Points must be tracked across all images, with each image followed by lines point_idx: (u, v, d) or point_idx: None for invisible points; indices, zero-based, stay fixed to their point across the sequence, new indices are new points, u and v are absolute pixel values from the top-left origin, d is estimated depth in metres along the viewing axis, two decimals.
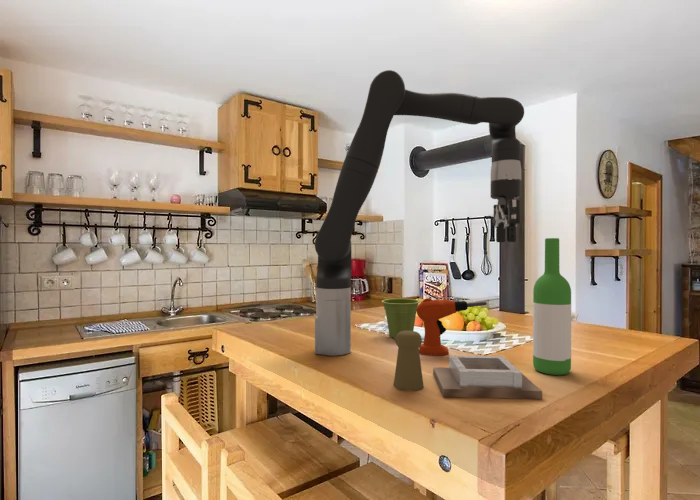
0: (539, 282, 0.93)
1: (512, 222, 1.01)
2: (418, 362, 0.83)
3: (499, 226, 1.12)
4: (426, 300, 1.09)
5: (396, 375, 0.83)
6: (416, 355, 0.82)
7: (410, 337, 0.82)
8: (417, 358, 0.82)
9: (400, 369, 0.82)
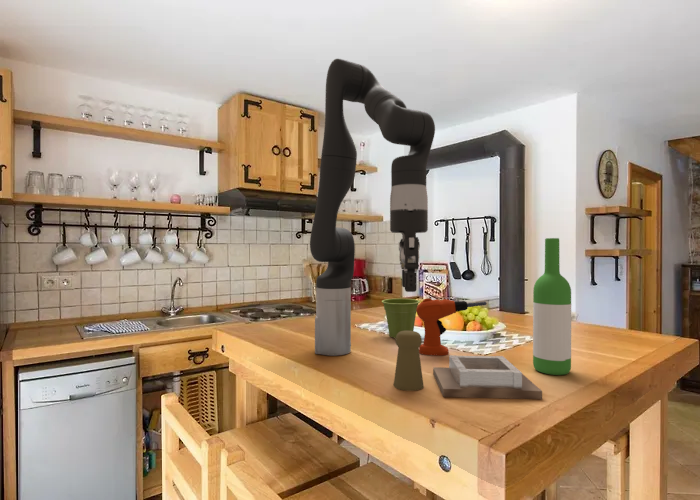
0: (539, 282, 0.93)
1: (409, 267, 0.77)
2: (418, 362, 0.83)
3: None
4: (426, 300, 1.09)
5: (396, 375, 0.83)
6: (416, 355, 0.82)
7: (410, 336, 0.82)
8: (417, 358, 0.82)
9: (400, 369, 0.82)
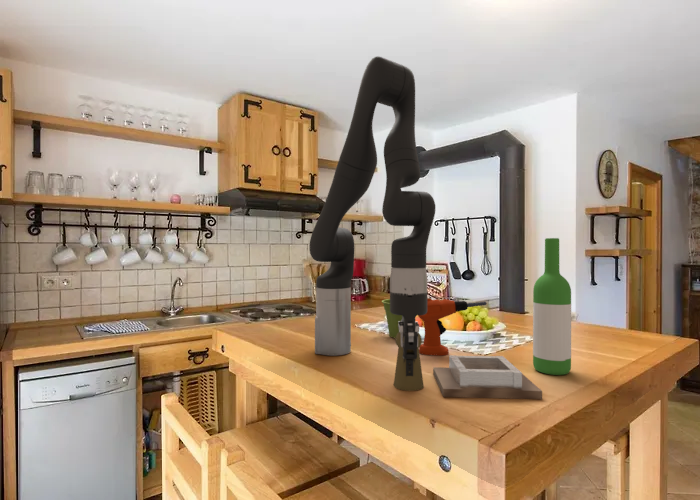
0: (539, 282, 0.93)
1: (407, 358, 0.80)
2: (418, 362, 0.83)
3: None
4: None
5: (396, 375, 0.83)
6: None
7: None
8: (417, 358, 0.82)
9: (400, 369, 0.82)
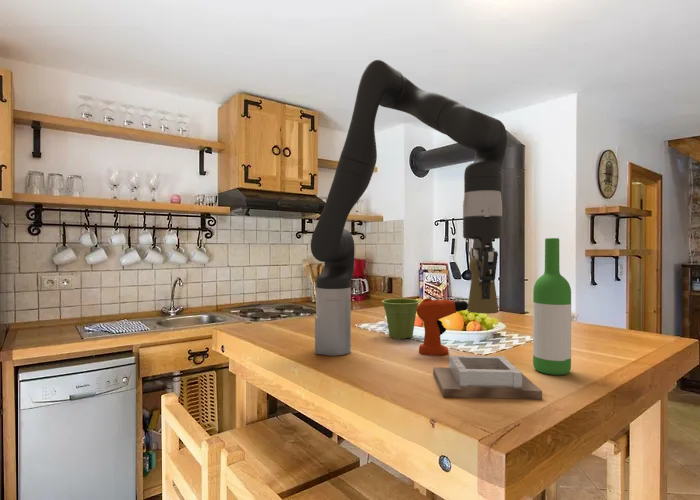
0: (539, 282, 0.93)
1: (485, 279, 0.80)
2: (494, 286, 0.82)
3: None
4: (426, 300, 1.09)
5: (471, 300, 0.83)
6: None
7: None
8: (493, 282, 0.82)
9: (475, 293, 0.82)
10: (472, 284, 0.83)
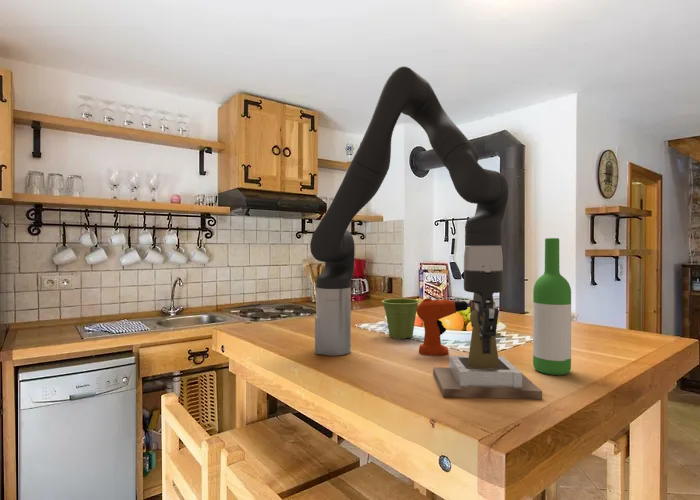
0: (539, 282, 0.93)
1: (486, 335, 0.80)
2: (494, 340, 0.82)
3: None
4: (426, 300, 1.09)
5: (471, 353, 0.83)
6: None
7: None
8: (493, 336, 0.82)
9: (476, 347, 0.82)
10: (473, 337, 0.83)
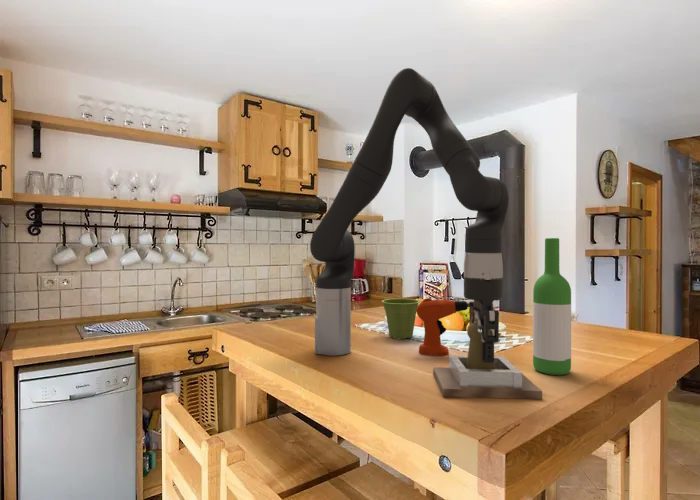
0: (539, 282, 0.93)
1: (489, 341, 0.78)
2: None
3: None
4: (426, 300, 1.09)
5: (469, 366, 0.84)
6: None
7: None
8: None
9: (473, 360, 0.83)
10: (470, 350, 0.84)
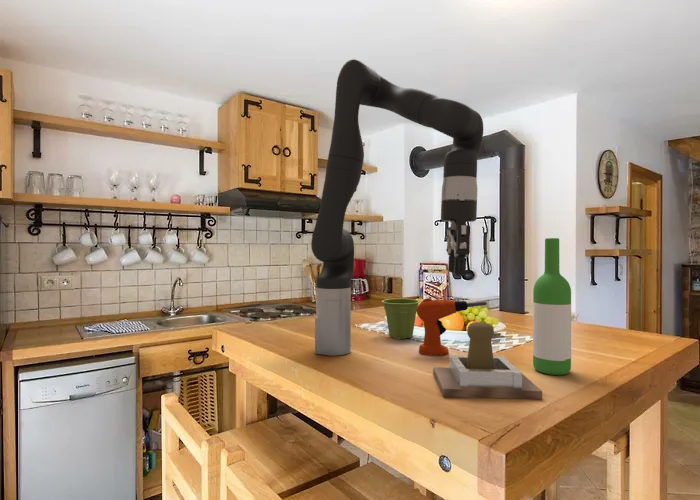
0: (539, 282, 0.93)
1: (460, 253, 0.84)
2: (491, 353, 0.83)
3: (452, 253, 0.95)
4: (426, 300, 1.09)
5: (469, 366, 0.84)
6: (489, 347, 0.83)
7: (484, 328, 0.83)
8: (490, 349, 0.83)
9: (473, 360, 0.83)
10: (470, 350, 0.84)
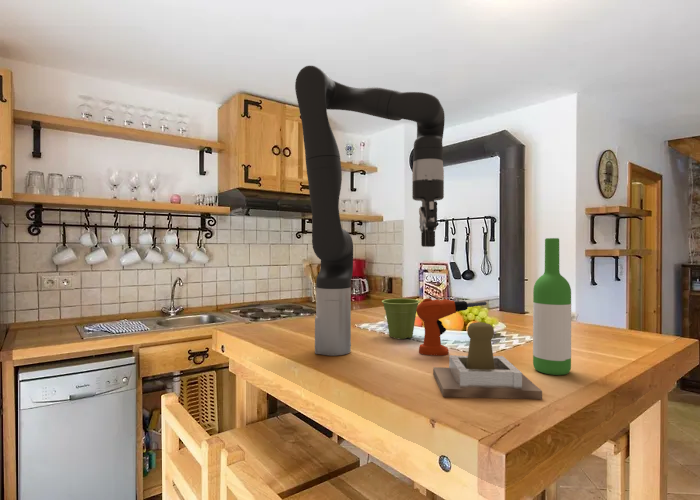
0: (539, 282, 0.93)
1: (429, 225, 0.95)
2: (491, 353, 0.83)
3: (424, 229, 1.06)
4: (426, 300, 1.09)
5: (469, 366, 0.84)
6: (489, 347, 0.83)
7: (484, 328, 0.83)
8: (490, 349, 0.83)
9: (473, 360, 0.83)
10: (470, 350, 0.84)
